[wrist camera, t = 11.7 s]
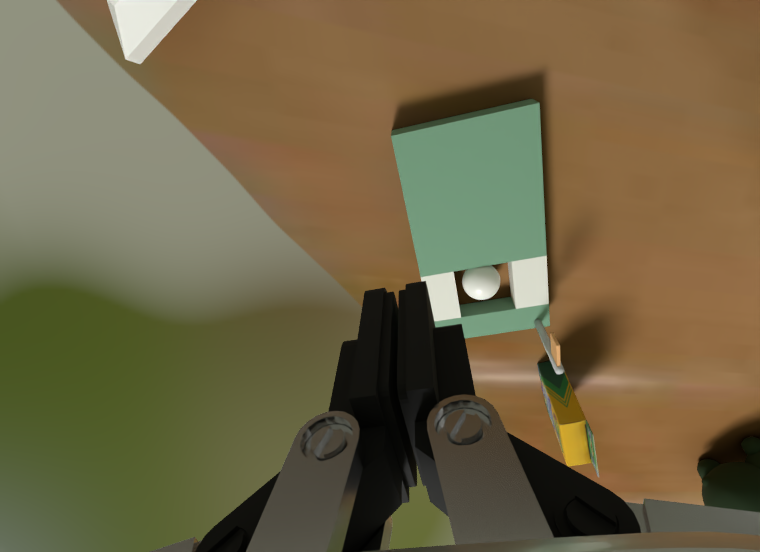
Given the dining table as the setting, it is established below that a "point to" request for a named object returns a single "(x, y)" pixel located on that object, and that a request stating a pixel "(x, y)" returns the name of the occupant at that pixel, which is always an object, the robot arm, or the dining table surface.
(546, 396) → the crayon box
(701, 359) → the dining table surface
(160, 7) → the soft serve ice cream
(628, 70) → the dining table surface
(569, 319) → the dining table surface
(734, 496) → the toy figurine
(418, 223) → the green
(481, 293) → the ball
